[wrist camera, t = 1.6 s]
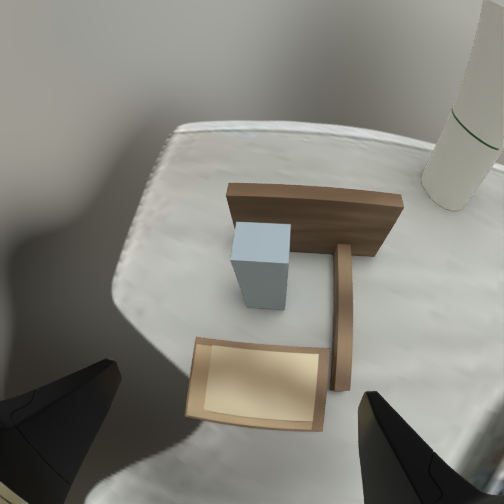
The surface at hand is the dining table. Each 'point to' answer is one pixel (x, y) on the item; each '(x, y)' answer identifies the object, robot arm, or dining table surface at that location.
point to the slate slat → (262, 263)
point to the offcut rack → (286, 357)
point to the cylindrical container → (472, 119)
